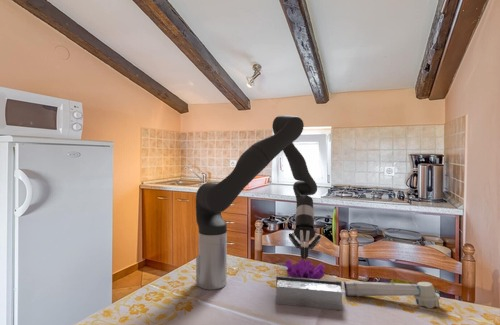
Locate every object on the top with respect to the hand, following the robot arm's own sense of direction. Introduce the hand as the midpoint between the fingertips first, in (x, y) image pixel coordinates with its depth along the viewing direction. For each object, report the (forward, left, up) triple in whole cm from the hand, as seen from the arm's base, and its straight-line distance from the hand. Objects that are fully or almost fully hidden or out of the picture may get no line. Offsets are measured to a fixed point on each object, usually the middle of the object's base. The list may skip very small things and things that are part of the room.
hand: (304, 258), depth 104 cm
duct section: (+1, -23, -5) cm, 24 cm away
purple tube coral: (0, -9, -5) cm, 11 cm away
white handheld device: (+25, -16, -5) cm, 30 cm away
